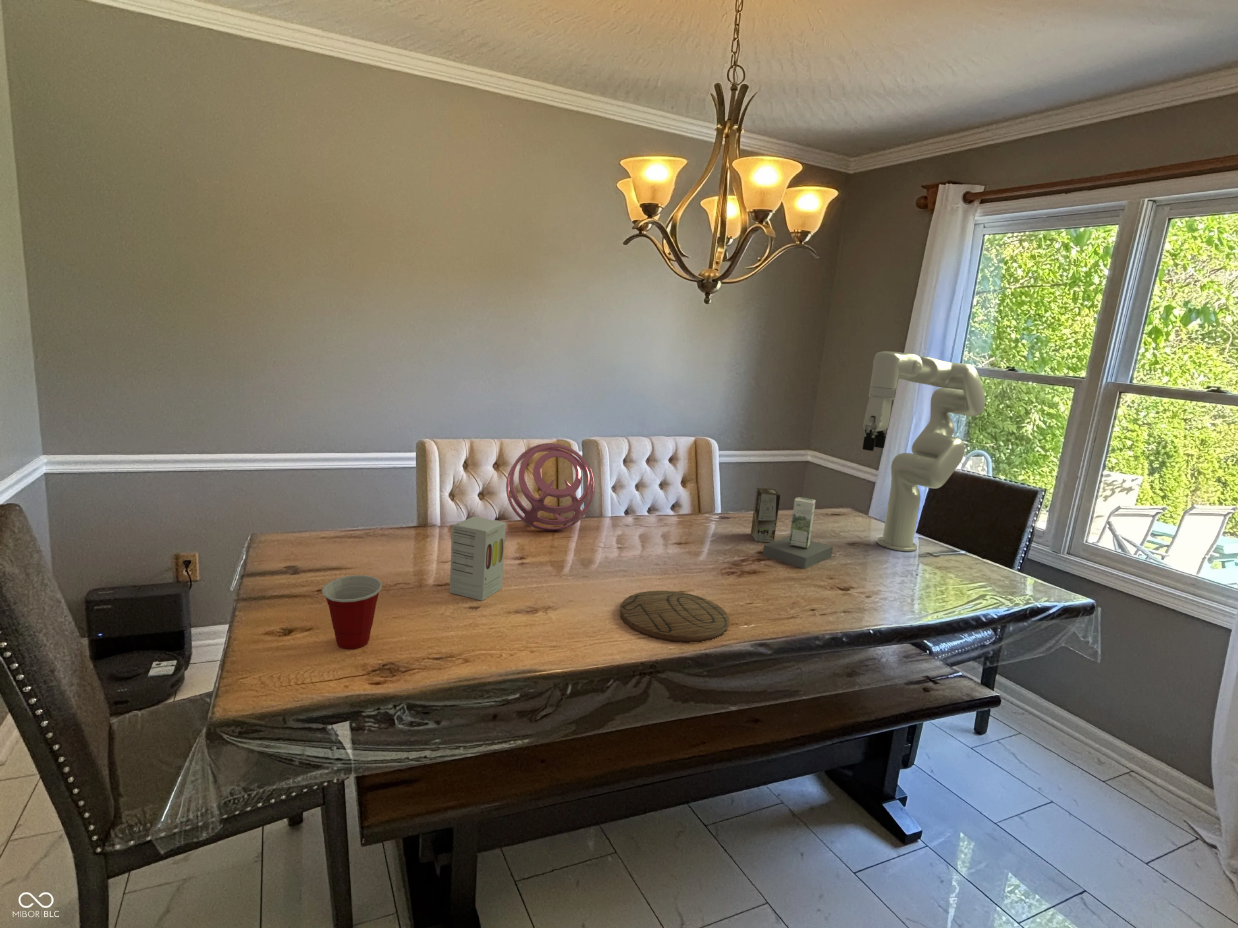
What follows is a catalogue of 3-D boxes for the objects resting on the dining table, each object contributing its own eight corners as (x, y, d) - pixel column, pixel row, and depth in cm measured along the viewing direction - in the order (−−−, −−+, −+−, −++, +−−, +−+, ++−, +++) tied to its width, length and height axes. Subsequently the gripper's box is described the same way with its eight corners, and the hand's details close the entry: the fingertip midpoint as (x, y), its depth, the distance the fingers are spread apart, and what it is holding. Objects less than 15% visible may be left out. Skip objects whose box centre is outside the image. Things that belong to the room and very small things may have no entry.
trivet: (648, 650, 141) (649, 642, 140) (603, 602, 163) (603, 595, 163) (749, 637, 151) (750, 629, 151) (693, 593, 173) (694, 586, 173)
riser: (790, 546, 221) (792, 534, 220) (831, 558, 212) (832, 546, 211) (762, 557, 208) (763, 544, 207) (804, 570, 199) (806, 557, 198)
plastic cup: (308, 647, 129) (308, 588, 127) (349, 626, 139) (350, 570, 137) (354, 661, 126) (355, 600, 123) (393, 638, 136) (394, 581, 133)
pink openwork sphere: (514, 451, 232) (526, 417, 208) (591, 475, 237) (612, 445, 213) (491, 527, 220) (501, 500, 196) (573, 551, 225) (593, 527, 201)
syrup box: (809, 544, 211) (816, 498, 208) (807, 549, 205) (813, 502, 203) (791, 541, 213) (797, 496, 211) (788, 545, 207) (794, 499, 205)
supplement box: (482, 601, 157) (485, 531, 153) (448, 593, 160) (450, 524, 156) (503, 588, 166) (506, 521, 162) (470, 580, 169) (473, 515, 165)
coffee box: (774, 543, 221) (781, 495, 218) (754, 541, 221) (761, 493, 218) (769, 534, 230) (775, 488, 227) (750, 533, 230) (756, 486, 227)
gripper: (879, 391, 215) (870, 444, 219) (860, 392, 202) (851, 449, 205) (903, 394, 211) (894, 448, 214) (885, 395, 197) (876, 453, 201)
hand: (873, 448), depth 210 cm, fingers open, 9 cm apart
